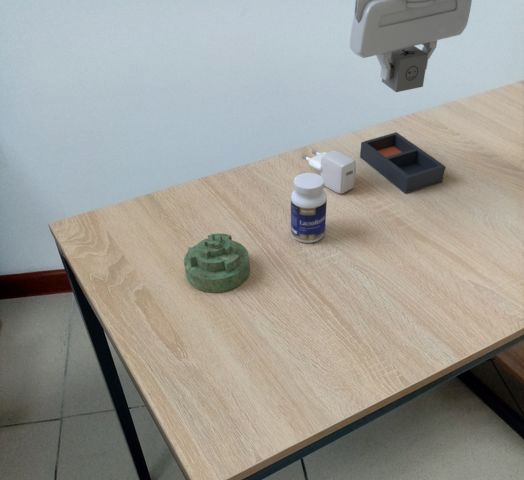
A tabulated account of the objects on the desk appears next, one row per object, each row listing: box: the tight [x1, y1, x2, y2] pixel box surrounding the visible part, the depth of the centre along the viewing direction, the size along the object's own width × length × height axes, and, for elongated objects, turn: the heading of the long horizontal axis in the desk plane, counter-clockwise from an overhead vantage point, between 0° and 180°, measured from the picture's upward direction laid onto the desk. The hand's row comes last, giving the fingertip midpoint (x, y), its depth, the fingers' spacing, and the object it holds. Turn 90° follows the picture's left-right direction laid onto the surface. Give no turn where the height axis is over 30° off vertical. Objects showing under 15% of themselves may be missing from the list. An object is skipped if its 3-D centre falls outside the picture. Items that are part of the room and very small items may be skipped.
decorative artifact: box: [183, 232, 251, 294], centre depth 81 cm, size 10×7×10 cm
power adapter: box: [301, 149, 357, 195], centre depth 97 cm, size 11×5×6 cm, turn 38°
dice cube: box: [381, 46, 428, 93], centre depth 88 cm, size 5×5×5 cm
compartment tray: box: [359, 131, 446, 194], centre depth 100 cm, size 8×15×3 cm, turn 25°
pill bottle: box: [290, 172, 328, 244], centre depth 85 cm, size 6×6×10 cm
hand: (403, 74), depth 89 cm, fingers closed on dice cube, 5 cm apart
